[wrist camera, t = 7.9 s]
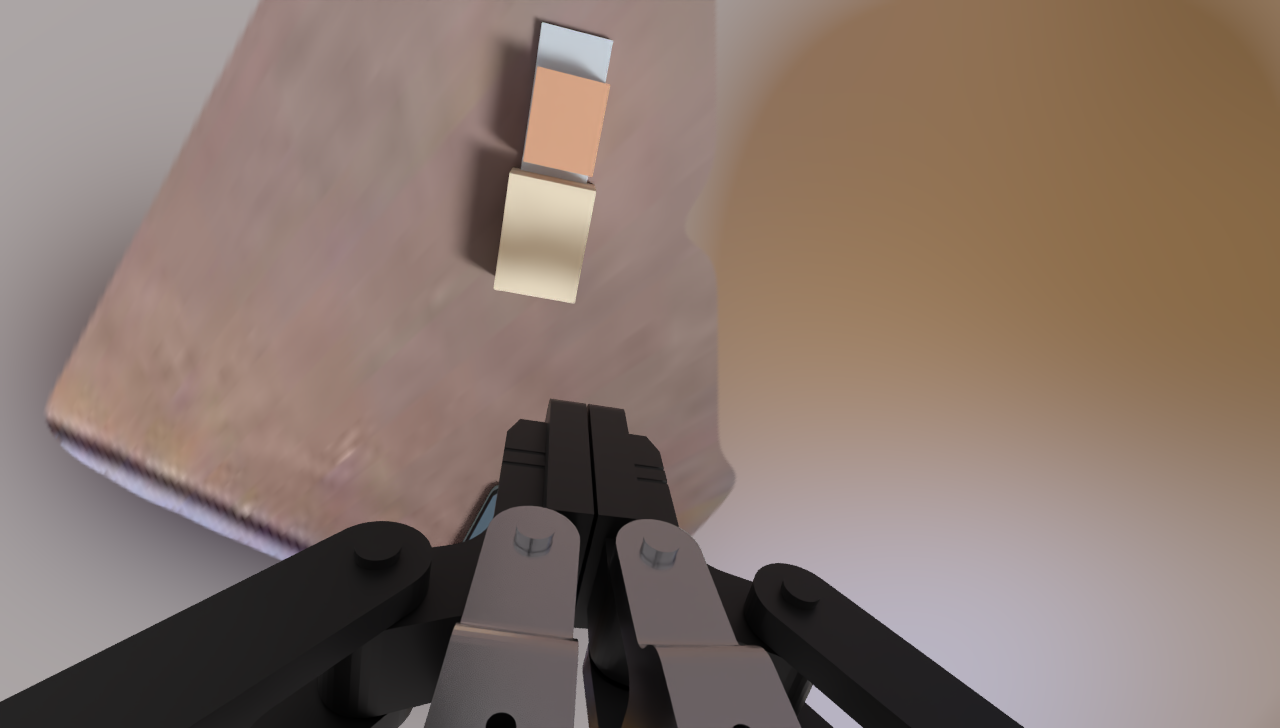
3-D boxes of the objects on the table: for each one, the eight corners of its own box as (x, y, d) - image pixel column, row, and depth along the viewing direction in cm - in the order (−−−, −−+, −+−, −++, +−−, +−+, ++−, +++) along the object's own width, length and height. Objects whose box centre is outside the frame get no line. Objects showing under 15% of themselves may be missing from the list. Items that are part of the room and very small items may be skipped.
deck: (512, 167, 38) (509, 172, 35) (594, 184, 39) (596, 191, 36) (497, 277, 40) (493, 289, 38) (573, 291, 41) (574, 303, 39)
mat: (542, 22, 35) (541, 22, 34) (612, 41, 35) (613, 40, 35) (521, 168, 38) (520, 169, 37) (586, 182, 38) (586, 184, 38)
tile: (538, 66, 35) (537, 65, 33) (607, 84, 36) (610, 84, 34) (524, 157, 37) (522, 161, 35) (590, 172, 38) (592, 176, 36)
